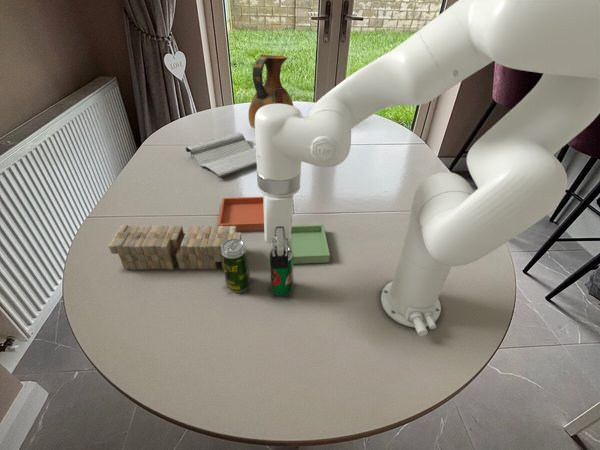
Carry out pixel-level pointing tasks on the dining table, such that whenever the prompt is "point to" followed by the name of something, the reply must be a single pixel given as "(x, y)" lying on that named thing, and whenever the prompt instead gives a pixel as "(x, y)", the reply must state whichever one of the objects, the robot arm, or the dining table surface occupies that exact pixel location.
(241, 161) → the mat
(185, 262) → the block tower
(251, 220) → the terracotta tray
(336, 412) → the dining table surface
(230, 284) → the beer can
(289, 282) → the soda can
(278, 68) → the ceramic pitcher
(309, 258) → the green tray
